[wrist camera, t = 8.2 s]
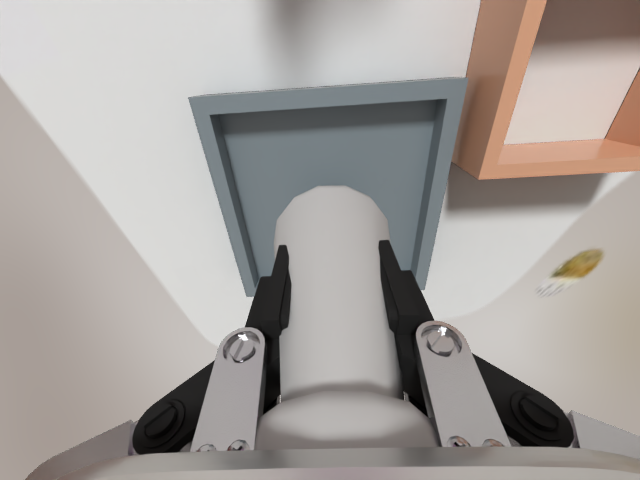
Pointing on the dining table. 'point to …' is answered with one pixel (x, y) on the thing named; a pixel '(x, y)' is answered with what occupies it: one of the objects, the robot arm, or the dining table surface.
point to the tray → (331, 159)
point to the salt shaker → (338, 334)
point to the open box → (500, 98)
